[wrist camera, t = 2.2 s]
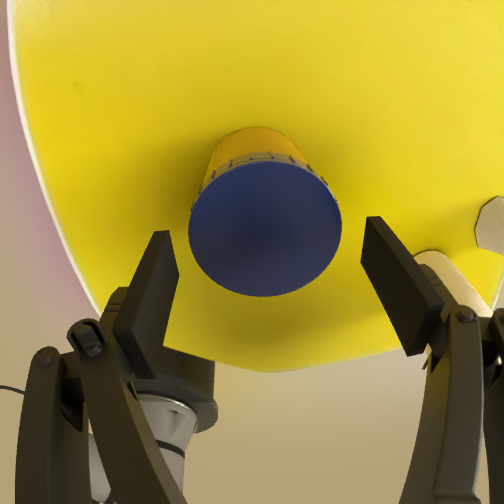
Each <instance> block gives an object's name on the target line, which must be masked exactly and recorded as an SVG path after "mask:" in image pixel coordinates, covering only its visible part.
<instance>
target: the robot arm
mask: <svg viewBox="0 0 504 504" xmlns="http://www.w3.org/2000/svg"><path fill="white" fill-rule="evenodd" d="M360 263H361V265H362V266H363V268H364V270H365V272H366V274H367V276H368V278H369V279H370V281H371V283H372V285H373V287H374V289H375V291H376V293H377V295H378V297H379V299H380V301H381V303H382V305H383V307H384V309H385V311H386V313H387V315H388V317H389V319H390V321H391V323H392V325H393V327H394V329H395V331H396V333H397V336H398V338H399V340H400V342H401V344H402V346H403V348H404V351H405V353H406V355H407V357H409V356H413V355H417V354H422V353H423V352H424V350H425V348H426V346H427V344H429V346H430V348H431V352H430V354H429V356H428V358H427V360H426V362H425V364H424V366H423V369H425V368H426V366H427V365H428V367H427V377H426V385H425V392H424V399H423V405H422V412H421V417H420V422H419V428H418V433H417V437H416V442H415V447H414V451H413V455H412V460H411V463H410V467H409V471H408V475H407V478H406V482H405V485H404V488H403V492H402V495H401V498H400V501H399V504H481V501H480V500H479V499H478V498H477V497H476V495H475V488H476V483H477V476H478V469H479V462H480V454H481V444H482V432H483V431H484V438H485V446H486V454H487V464H488V476H489V497H490V504H504V308H498V309H496V310H495V311H494V313H493V315H492V317H480V316H478V315H477V313H476V312H475V311H474V310H473V309H472V308H470V307H468V306H466V305H459V304H458V302H457V301H456V300H455V298H454V297H453V295H452V294H451V293H450V291H449V290H448V288H447V287H446V286H445V285H444V283H443V282H442V280H441V279H439V276H438V275H437V274H436V272H435V271H434V270H433V269H432V268H430V267H429V266H428V265H426V264H418V263H417V262H416V260H415V259H414V258H413V256H412V255H411V254H410V253H409V251H408V250H407V249H406V247H405V246H404V245H403V244H402V242H401V241H400V240H399V239H398V237H397V236H396V235H395V234H394V232H393V231H392V230H391V229H390V227H389V226H388V225H387V224H386V223H385V221H384V220H383V219H382V218H381V217H380V216H372V217H367V218H366V226H365V234H364V241H363V248H362V255H361V261H360ZM178 279H179V272H178V268H177V263H176V259H175V255H174V250H173V246H172V241H171V237H170V232H169V230H164V231H154V233H153V235H152V237H151V239H150V242H149V244H148V246H147V248H146V250H145V252H144V254H143V256H142V259H141V261H140V263H139V265H138V267H137V270H136V272H135V274H134V276H133V279H132V281H131V283H130V286H129V287H118V288H117V289H116V290H115V291H114V292H113V293H112V295H111V296H110V298H109V301H108V303H107V305H106V307H105V309H104V312H103V314H102V316H101V318H100V321H99V323H98V321H96V320H95V319H90V318H87V319H83V320H80V321H78V322H76V323H75V324H74V325H72V326H71V327H70V329H69V331H68V332H67V339H68V341H69V342H70V344H71V346H72V347H73V349H74V351H73V352H69V353H65V354H60V353H59V352H58V350H57V349H56V348H54V347H50V346H47V347H44V348H42V349H40V350H39V351H37V353H36V354H35V355H34V356H33V359H32V361H31V365H30V370H29V374H28V379H27V384H26V389H25V392H24V391H22V390H19V389H16V388H12V387H8V386H2V385H1V386H0V389H7V390H12V391H14V392H17V393H20V394H23V395H24V400H23V405H22V412H21V419H20V426H19V434H18V443H17V455H16V472H15V473H16V474H15V504H99V503H100V502H101V503H104V504H187V502H186V500H185V498H184V496H183V475H184V458H185V450H186V448H187V445H188V443H189V441H190V439H191V437H192V435H193V433H195V432H194V431H196V428H197V426H196V425H198V424H197V417H198V416H197V412H196V411H195V409H194V408H193V407H191V406H190V405H189V404H187V403H186V402H184V401H182V400H180V399H178V398H175V397H172V396H169V395H166V394H162V393H157V392H149V391H137V392H136V390H135V388H134V385H133V383H132V382H131V380H130V378H131V374H132V370H133V372H134V374H135V375H136V377H137V379H156V375H157V370H158V365H159V360H160V355H161V351H162V346H163V342H164V337H165V333H166V328H167V324H168V320H169V316H170V311H171V307H172V303H173V299H174V295H175V291H176V287H177V283H178ZM499 357H500V359H501V362H502V363H501V364H499V362H498V358H499ZM88 420H90V424H91V427H92V431H93V435H92V434H90V433H88V423H89V421H88Z"/></svg>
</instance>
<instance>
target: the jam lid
mask: <svg viewBox="0 0 504 504" xmlns="http://www.w3.org/2000/svg"><path fill="white" fill-rule="evenodd" d="M327 185H328V184H327V183H326V181H325V180H324V179H323V178H322V176H321V177H320V176H319V175H318V174H317V173H316V172H315V171H314V170H313V169H312V168H311V166H310V165H309V164H305V163H303V162H302V161H300V160H298V159H296V158H294V157H292V155H290V156H288V155H285V154H281V153H274V152H272V151H270V152H256V153H251V152H249V154H245V155H242V156H239V157H236V158H234V159H231V158H230V159H229V161H228V162H226V163H224V164H223V165H221V166H220V167H219V168H217V169H216V170H213V171H212V174H211V175H210V176H209V177H208V178H207V179H206V181H205V182H204V183H203V185H202V184H201V185H200V188H199V191H198V194H197V197H196V200H195V201H193V204H192V207H191V210H190V211H191V215H190V220H189V226H188V236H189V243H190V247H191V251H192V253H193V255H194V258H195V260H196V261H197V263H198V265H199V266H200V268H201V269H202V270H203V271H204V273H205V274H206V275H207V276H209V277H210V278H211V279H212V280H213V281H215V282H216V283H217V284H219V285H220V286H222V287H224V288H226V289H228V290H230V291H233V292H236V293H239V294H242V295H248V296H256V297H269V296H277V295H282V294H286V293H289V292H292V291H295V290H297V289H299V288H301V287H303V286H305V285H307V284H308V283H310V282H311V281H313V280H314V279H315V278H317V277H318V276H319V275H320V274H321V273H322V272H323V271H324V270H325V269H326V267H327V266H328V265H329V264H330V262H331V261H332V259H333V257H334V255H335V253H336V251H337V249H338V246H339V243H340V239H341V232H342V220H341V213H340V210H339V206H338V204H337V202H336V201H337V200H336V199H335V197H334V196H333V194H332V193H331V191H330V189H329V188H328V187H327Z"/></svg>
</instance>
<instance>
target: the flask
mask: <svg viewBox="0 0 504 504" xmlns="http://www.w3.org/2000/svg"><path fill="white" fill-rule="evenodd" d="M475 232H476V238H477V244H478V247H480V248H483V249H486V250H490V251H493V252H496V253H499V254H501V255H504V198H503V197H498V196H497V197H496V198H495V199H493V200H492V201H491V202H489V203H488V204H487V205H485V206H484V207H483V208H482V210H481V213H480V216H479V219H478V222H477V225H476V228H475Z"/></svg>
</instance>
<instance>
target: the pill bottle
mask: <svg viewBox="0 0 504 504" xmlns="http://www.w3.org/2000/svg"><path fill="white" fill-rule="evenodd" d="M413 258H414V259H415V260H416V262H417V263H418V264H426V265H428V266H429V267H430V268H432V269H433V270H434V271H435V272H436V274H437V275H438V276H439V279H441V280H442V282H443V283H444V285H445V286H446V287H447V288H448V290H449V291H450V293H451V294H452V295H453V297H454V298H455V300H456V301H457V302H458V304H459V305H466V306H468V307H470V308H472V309H473V310H474V311H475V312H476V313H477V315H478V316H480V317H492V315H493V313H492V311H491V310H490V309H489V307H488V306H487V305H486V303H485V302H484V301H483V299H482V298H481V297H480V295H479V294H478V293H477V292H476V290H475V289H474V288H473V287H472V285H471V284H470V283H469V282H468V281H467V279H466V278H465V277H464V276H463V274H462V273H461V272H460V271H459V270H458V269H457V267H456V266H455V265H454V264H453V263H452V262H451V260H450V259H449V258H448V257H447V256H445V255H444V254H443V253H441V252H438V251H426V252H423V253H420V254H418V255H416V256H415V257H413ZM425 351H426V353H427V355H428V356H429V354H430V352H431V348H430V346H429V344H427V346H426V348H425ZM498 362H499V364H501V363H502V362H501V359H500V357H499V358H498Z"/></svg>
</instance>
